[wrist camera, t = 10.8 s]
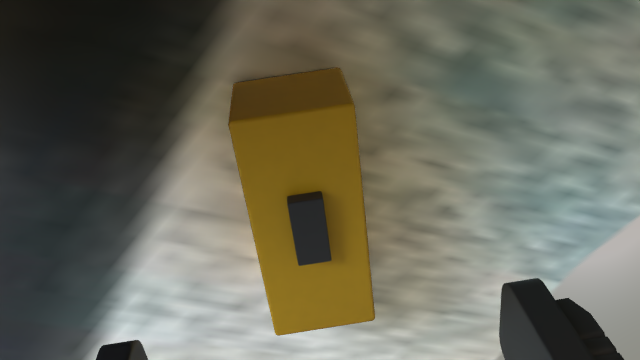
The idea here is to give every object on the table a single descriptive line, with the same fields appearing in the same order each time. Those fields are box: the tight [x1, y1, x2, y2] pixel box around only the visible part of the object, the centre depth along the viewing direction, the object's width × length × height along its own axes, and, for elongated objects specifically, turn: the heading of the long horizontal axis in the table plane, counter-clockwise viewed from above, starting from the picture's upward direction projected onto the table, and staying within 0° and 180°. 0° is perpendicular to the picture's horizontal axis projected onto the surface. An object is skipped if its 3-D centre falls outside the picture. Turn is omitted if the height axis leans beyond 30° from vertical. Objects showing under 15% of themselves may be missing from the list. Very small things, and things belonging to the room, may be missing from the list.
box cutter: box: [228, 68, 375, 335], centre depth 16 cm, size 8×3×3 cm, turn 7°
